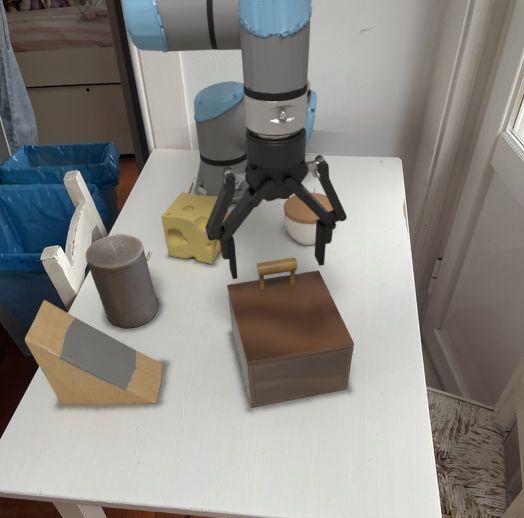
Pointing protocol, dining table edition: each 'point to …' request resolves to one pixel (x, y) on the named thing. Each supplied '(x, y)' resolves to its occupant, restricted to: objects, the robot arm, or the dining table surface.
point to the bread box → (293, 374)
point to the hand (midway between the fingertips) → (276, 267)
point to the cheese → (190, 228)
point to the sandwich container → (90, 362)
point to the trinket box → (303, 218)
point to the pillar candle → (122, 280)
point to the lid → (286, 315)
